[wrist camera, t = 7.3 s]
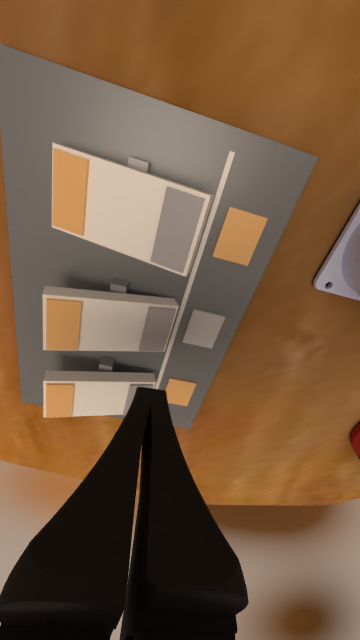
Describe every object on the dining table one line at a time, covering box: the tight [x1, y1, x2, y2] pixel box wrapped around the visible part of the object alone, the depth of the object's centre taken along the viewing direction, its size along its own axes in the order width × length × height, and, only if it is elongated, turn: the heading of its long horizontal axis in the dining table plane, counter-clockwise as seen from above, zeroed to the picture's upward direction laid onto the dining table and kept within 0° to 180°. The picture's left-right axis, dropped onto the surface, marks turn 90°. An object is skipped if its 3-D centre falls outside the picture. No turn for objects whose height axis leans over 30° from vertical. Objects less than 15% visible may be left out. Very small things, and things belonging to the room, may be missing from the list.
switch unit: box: [0, 44, 318, 429], centre depth 18 cm, size 16×24×2 cm, turn 165°
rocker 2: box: [43, 286, 179, 352], centre depth 17 cm, size 8×4×1 cm, turn 75°
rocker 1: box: [52, 143, 214, 277], centre depth 13 cm, size 8×4×1 cm, turn 75°
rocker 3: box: [43, 370, 156, 418], centre depth 20 cm, size 8×4×1 cm, turn 75°
